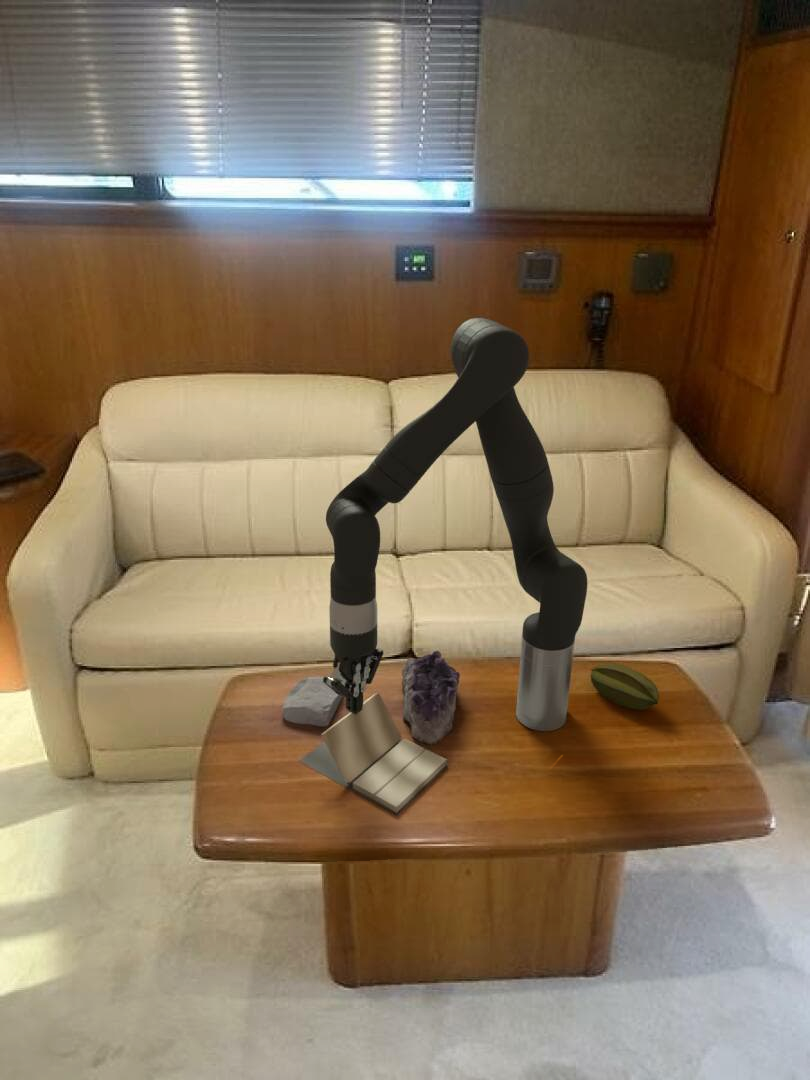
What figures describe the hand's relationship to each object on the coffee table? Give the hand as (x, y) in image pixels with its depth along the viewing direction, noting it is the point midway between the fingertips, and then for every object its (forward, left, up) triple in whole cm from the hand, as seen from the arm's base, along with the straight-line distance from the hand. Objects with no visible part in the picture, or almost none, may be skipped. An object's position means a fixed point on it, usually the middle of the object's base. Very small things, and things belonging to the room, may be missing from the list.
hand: (354, 710), depth 131 cm
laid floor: (-1, +3, -10) cm, 11 cm away
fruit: (-44, +29, -11) cm, 54 cm away
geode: (-19, +2, -11) cm, 22 cm away
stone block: (-7, -16, -11) cm, 21 cm away
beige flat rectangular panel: (-1, 0, -6) cm, 6 cm away
